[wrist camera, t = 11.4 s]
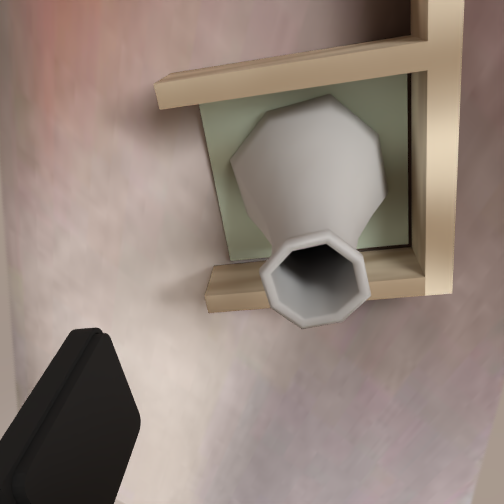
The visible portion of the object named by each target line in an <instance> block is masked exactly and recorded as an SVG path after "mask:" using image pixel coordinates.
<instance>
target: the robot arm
mask: <svg viewBox="0 0 504 504" xmlns="http://www.w3.org/2000/svg"><path fill="white" fill-rule="evenodd" d="M140 424H141V420H140V414H139V411H138V409H137V406H136V403H135V401H134V398H133V396H132V393H131V390H130V388H129V385H128V383H127V380H126V377H125V375H124V372H123V369H122V367H121V364H120V362H119V359H118V356H117V354H116V351H115V349H114V346H113V343H112V341H111V338H110V336H109V335H108V334H106V333H103V332H102V330H101V329H99V328H85V329H75V330H72V331H71V332H70V333H69V335H68V337H67V338H66V340H65V341H64V343H63V344H62V346H61V347H60V349H59V350H58V352H57V354H56V355H55V357H54V358H53V360H52V361H51V363H50V364H49V366H48V367H47V369H46V371H45V372H44V374H43V375H42V377H41V378H40V380H39V381H38V383H37V384H36V386H35V388H34V389H33V391H32V392H31V394H30V395H29V397H28V398H27V400H26V401H25V403H24V405H23V406H22V408H21V409H20V411H19V412H18V414H17V415H16V417H15V419H14V420H13V422H12V423H11V425H10V426H9V428H8V429H7V431H6V432H5V434H4V436H3V437H2V439H1V440H0V504H114V502H115V499H116V496H117V493H118V490H119V487H120V485H121V482H122V479H123V476H124V473H125V470H126V468H127V465H128V462H129V459H130V456H131V453H132V450H133V448H134V445H135V442H136V439H137V436H138V433H139V430H140Z"/></svg>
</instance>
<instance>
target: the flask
mask: <svg viewBox="0 0 504 504" xmlns="http://www.w3.org/2000/svg"><path fill="white" fill-rule="evenodd" d="M230 162H231V165H232V168H233V171H234V175H235V178H236V181H237V184H238V187H239V190H240V193H241V197H242V200H243V203H244V206H245V209H246V212H247V215H248V216H249V217H250V219H251V220H252V221H253V222H254V223H255V224H256V225H257V227H258V228H259V229H260V230H261V231H262V232H263V234H264V235H265V237H266V238H267V240H268V241H269V242H270V244H271V245H272V253H271V256H270V257H269V258H268V259H267V261H266V262H265V263H264V264H263V265H262V266H261V268H260V269H259V274H260V277H261V280H262V283H263V287H264V290H265V293H266V296H267V299H268V302H269V305H270V308H272V309H273V310H275V311H276V312H277V313H279V314H280V315H282V316H283V317H285V318H286V319H288V320H289V321H291V322H292V323H294V324H295V325H297V326H298V327H300V328H301V329H306V328H312V327H317V326H323V325H329V324H334V323H340V322H343V321H344V320H345V319H346V318H347V317H348V316H349V315H351V314H352V313H353V312H354V311H355V310H356V309H357V308H358V307H359V306H360V305H361V304H363V303H364V302H365V301H366V300H367V299H368V298H369V297H370V296H371V292H370V287H369V282H368V278H367V273H366V268H365V263H364V259H363V255H362V254H361V253H360V252H359V251H357V250H356V249H357V244H358V238H359V237H360V235H361V233H362V232H363V230H364V228H365V227H366V225H367V223H368V222H369V220H370V218H371V217H372V215H373V214H374V212H375V211H376V209H377V208H378V207H379V205H380V204H381V203H382V201H383V200H384V199H385V197H386V195H387V194H388V187H387V181H386V175H385V169H384V163H383V157H382V152H381V146H380V140H379V134H378V133H377V132H375V131H374V130H373V129H372V128H371V127H369V126H368V125H367V124H366V123H365V122H363V121H362V120H361V119H360V118H359V117H357V116H356V115H355V114H354V113H353V112H351V111H350V110H349V109H348V108H347V107H345V106H344V105H343V104H342V103H341V102H339V101H338V100H337V99H336V98H335V97H333V96H332V95H331V94H327V95H323V96H320V97H316V98H313V99H309V100H306V101H302V102H298V103H295V104H291V105H288V106H284V107H280V108H277V109H273V110H270V111H267V112H266V113H265V114H264V116H263V117H262V118H261V120H260V121H259V122H258V124H257V125H256V126H255V127H254V129H253V130H252V131H251V133H250V134H249V135H248V137H247V138H246V139H245V141H244V142H243V143H242V145H241V146H240V147H239V149H238V150H237V151H236V153H235V154H234V155H233V157H232V158H231V159H230Z"/></svg>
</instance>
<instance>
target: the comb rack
mask: <svg viewBox="0 0 504 504" xmlns="http://www.w3.org/2000/svg"><path fill="white" fill-rule="evenodd" d="M463 18H464V0H411V35H408V36H402V37H396V38H389V39H383V40H377V41H371V42H364V43H358V44H352V45H346V46H339V47H333V48H327V49H321V50H314V51H308V52H302V53H295V54H289V55H283V56H277V57H270V58H264V59H258V60H252V61H245V62H239V63H233V64H226V65H220V66H214V67H208V68H201V69H195V70H189V71H183V72H176V73H171V74H169V75H168V76H166V77H164V78H163V79H161V80H160V81H158V82H156V83H155V84H154V89H155V93H156V97H157V101H158V105H159V109H160V110H162V109H169V108H176V107H183V106H189V105H196V104H199V108H200V113H201V117H202V122H203V127H204V132H205V137H206V142H207V147H208V152H209V157H210V162H211V167H212V172H213V177H214V182H215V187H216V191H217V196H218V201H219V206H220V211H221V216H222V221H223V226H224V231H225V236H226V241H227V246H228V251H229V256H230V261H236V260H246V259H257V258H267V257H270V256H271V253H272V245H271V244H270V242H269V241H268V240H267V238H266V237H265V235H264V234H263V232H262V231H261V230H260V229H259V228H258V227H257V225H256V224H255V223H254V222H253V221H252V220H251V219H250V217H249V216H248V215H247V212H246V209H245V206H244V203H243V200H242V197H241V193H240V190H239V187H238V184H237V181H236V178H235V175H234V171H233V168H232V165H231V162H230V159H231V158H232V157H233V155H234V154H235V153H236V151H237V150H238V149H239V147H240V146H241V145H242V143H243V142H244V141H245V139H246V138H247V137H248V135H249V134H250V133H251V131H252V130H253V129H254V127H255V126H256V125H257V124H258V122H259V121H260V120H261V118H262V117H263V116H264V114H265V113H266V112H267V111H270V110H273V109H277V108H280V107H284V106H288V105H291V104H295V103H298V102H302V101H306V100H309V99H313V98H316V97H320V96H323V95H327V94H331V95H332V96H333V97H335V98H336V99H337V100H338V101H339V102H341V103H342V104H343V105H344V106H345V107H347V108H348V109H349V110H350V111H351V112H353V113H354V114H355V115H356V116H357V117H359V118H360V119H361V120H362V121H363V122H365V123H366V124H367V125H368V126H369V127H371V128H372V129H373V130H374V131H375V132H377V133H378V134H379V140H380V146H381V152H382V157H383V163H384V169H385V175H386V181H387V187H388V194H387V195H386V197H385V199H384V200H383V201H382V203H381V204H380V205H379V207H378V208H377V209H376V211H375V212H374V214H373V215H372V217H371V218H370V220H369V222H368V223H367V225H366V227H365V228H364V230H363V232H362V233H361V235H360V237H359V238H358V244H357V249H360V248H371V247H381V246H392V245H402V244H408V116H407V73H411V180H412V247H405V248H395V249H384V250H374V251H363V252H360V253H361V254H362V255H363V259H364V263H365V268H366V273H367V278H368V282H369V287H370V292H371V296H370V297H369V298H368V299H367V300H376V299H388V298H401V297H413V296H426V295H438V294H450V293H452V284H453V260H454V236H455V211H456V187H457V163H458V139H459V115H460V91H461V67H462V42H463ZM265 262H266V261H259V262H248V263H238V264H227V265H217V266H214V268H213V271H212V274H211V277H210V280H209V283H208V287H207V290H206V293H205V300H206V305H207V309H208V313H214V312H227V311H239V310H252V309H264V308H270V305H269V302H268V299H267V296H266V293H265V290H264V287H263V283H262V280H261V277H260V274H259V269H260V268H261V266H262V265H263V264H264V263H265Z"/></svg>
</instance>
